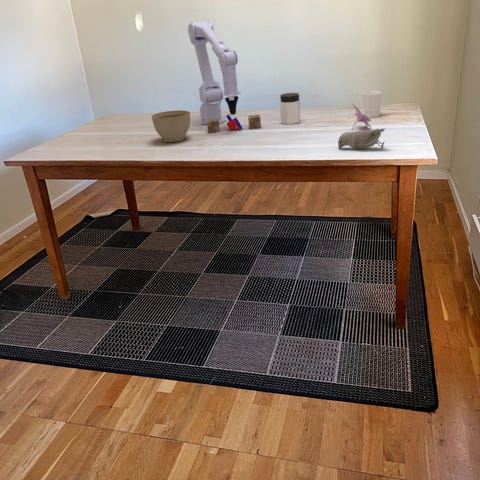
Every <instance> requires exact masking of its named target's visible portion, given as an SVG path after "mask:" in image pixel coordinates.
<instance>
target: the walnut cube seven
mask: <svg viewBox="0 0 480 480" xmlns="http://www.w3.org/2000/svg"><path fill="white" fill-rule="evenodd" d="M206 125H207V134H216V132H218V133H220V132H221V126H220V124H219V119H209V120H207V124H206Z"/></svg>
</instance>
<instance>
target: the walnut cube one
mask: <svg viewBox="0 0 480 480" xmlns="http://www.w3.org/2000/svg"><path fill="white" fill-rule="evenodd" d="M247 118H248V128H249V130H258V129H259V130H260V129H262V123H261V115H260V114H252V115H247Z"/></svg>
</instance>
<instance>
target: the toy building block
mask: <svg viewBox="0 0 480 480" xmlns="http://www.w3.org/2000/svg"><path fill="white" fill-rule="evenodd" d="M230 115H231V114H227V115H225V117H226V118H227V120H228V122H227V123H226V126H227V127H228V129H229V131H230V130H231V131H232V130H234V129H236V128H237V130H238V131H240V130H241V129H242V128H243V125H242V124H241V122H240V121H239V119H238V117H234V118H232V117H231V116H230Z"/></svg>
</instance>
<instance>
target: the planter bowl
mask: <svg viewBox="0 0 480 480" xmlns="http://www.w3.org/2000/svg"><path fill="white" fill-rule="evenodd" d="M150 117H151V120H152V123H153V128H154V129H155V131H156V133H157V134H158V135H159V136H160V137H161V140H162V142H166V143H177V142H180V141H184V140H185V139H186V135H187V133H188V131H189V129H190V125H191V112H190V111H188V110H184V109H181V110H180V109H179V110H177V109H176V110H167V111H162V112H161V111H160V112H157V113H154V114H153V115H151V116H150Z"/></svg>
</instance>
